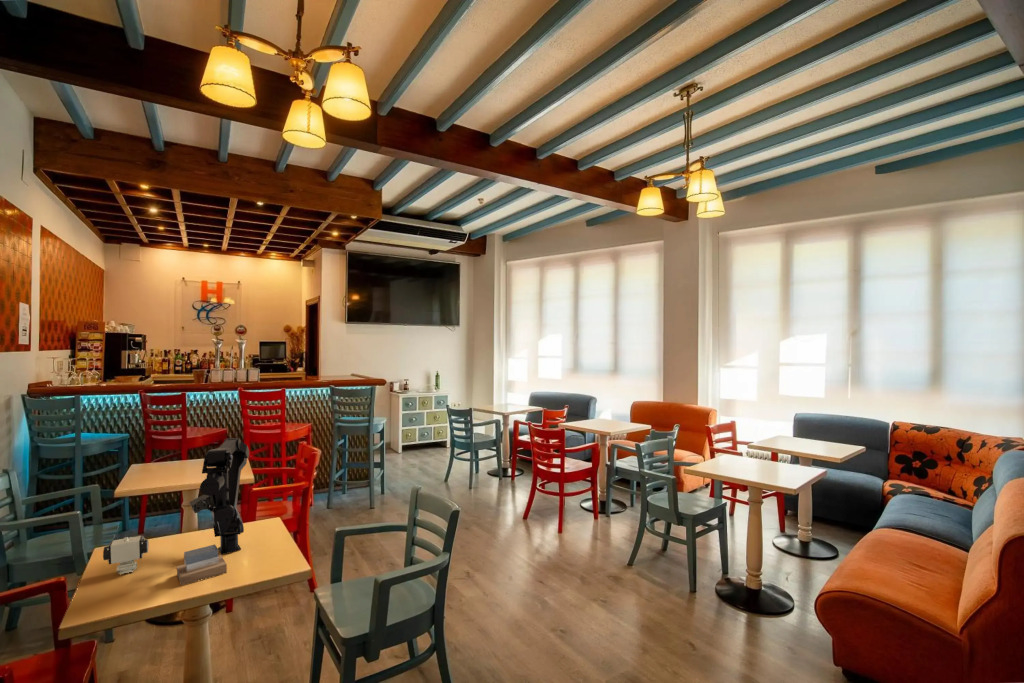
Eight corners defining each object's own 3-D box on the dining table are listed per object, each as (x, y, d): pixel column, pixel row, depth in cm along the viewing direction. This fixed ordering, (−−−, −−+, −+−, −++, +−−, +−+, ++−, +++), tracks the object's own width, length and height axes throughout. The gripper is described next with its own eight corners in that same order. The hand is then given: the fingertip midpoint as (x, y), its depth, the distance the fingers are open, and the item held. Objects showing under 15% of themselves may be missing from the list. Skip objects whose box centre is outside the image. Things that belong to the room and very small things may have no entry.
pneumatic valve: (147, 570, 170) (146, 536, 170) (103, 579, 164) (102, 543, 164) (149, 564, 175) (148, 530, 174) (106, 572, 169) (106, 537, 168)
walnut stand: (176, 575, 167) (176, 566, 167) (221, 563, 176) (220, 554, 176) (180, 586, 161) (180, 576, 160) (226, 572, 169) (226, 564, 169)
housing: (215, 558, 173) (215, 544, 173) (218, 563, 169) (218, 549, 169) (184, 566, 167) (184, 552, 167) (186, 572, 163) (186, 557, 163)
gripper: (187, 483, 175) (188, 527, 176) (196, 498, 161) (197, 545, 162) (223, 477, 182) (223, 519, 183) (234, 490, 168) (235, 536, 169)
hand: (219, 529), depth 174 cm, fingers open, 9 cm apart
